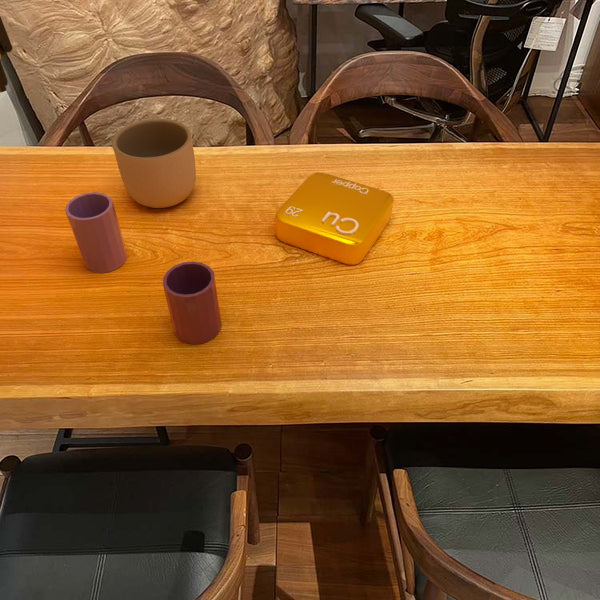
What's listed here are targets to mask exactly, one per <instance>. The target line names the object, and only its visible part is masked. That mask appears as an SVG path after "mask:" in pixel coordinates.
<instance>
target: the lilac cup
mask: <svg viewBox="0 0 600 600" xmlns="http://www.w3.org/2000/svg"><path fill="white" fill-rule="evenodd" d="M64 212H65V215H66V217H67V220H68V223H69V226H70V229H71V232H72V235H73V237H74V240H75V243H76V246H77V248H78V252H79V254H80V257H81V260H82V262H83V265H84V267H85V268H86V269H87V270H88V271H90V272H92V273H95V274H96V273H97V274H106V273H110V272H113V271H115V270H118V269H119V268H121V267H122V266H123V265H124V264H125V263H126V261H127V258H128V253H127V248H126V244H125V240H124V237H123V234H122V230H121V226H120V223H119V219H118V214H117V212H116V208H115V204H114V201H113V199H112V198H111V196H110V195H108V194H106V193H104V192H97V191H92V192H85V193H82V194H79V195H76V196H75V197H73V198H72V199H70V200H69V201H68V202H67V203H66V205H65V209H64Z"/></svg>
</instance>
